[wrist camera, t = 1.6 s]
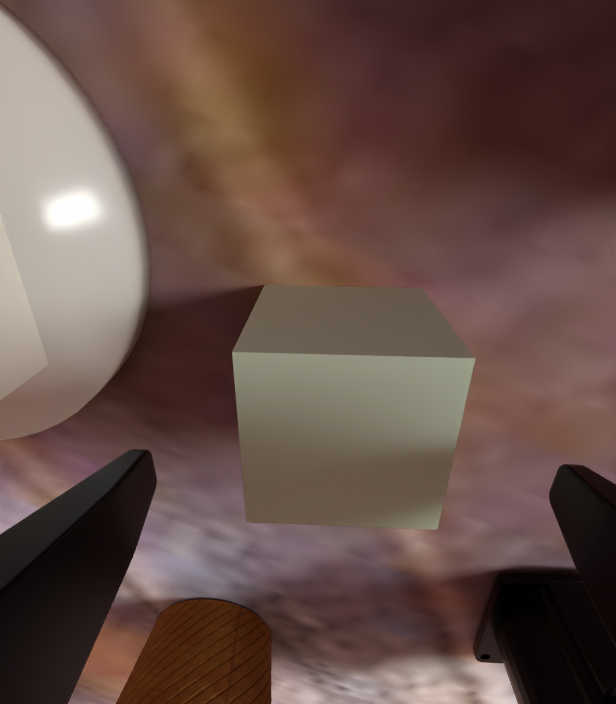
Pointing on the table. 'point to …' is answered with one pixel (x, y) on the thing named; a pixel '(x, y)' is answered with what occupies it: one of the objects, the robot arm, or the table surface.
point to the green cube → (348, 406)
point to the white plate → (66, 231)
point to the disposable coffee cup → (203, 657)
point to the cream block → (16, 325)
